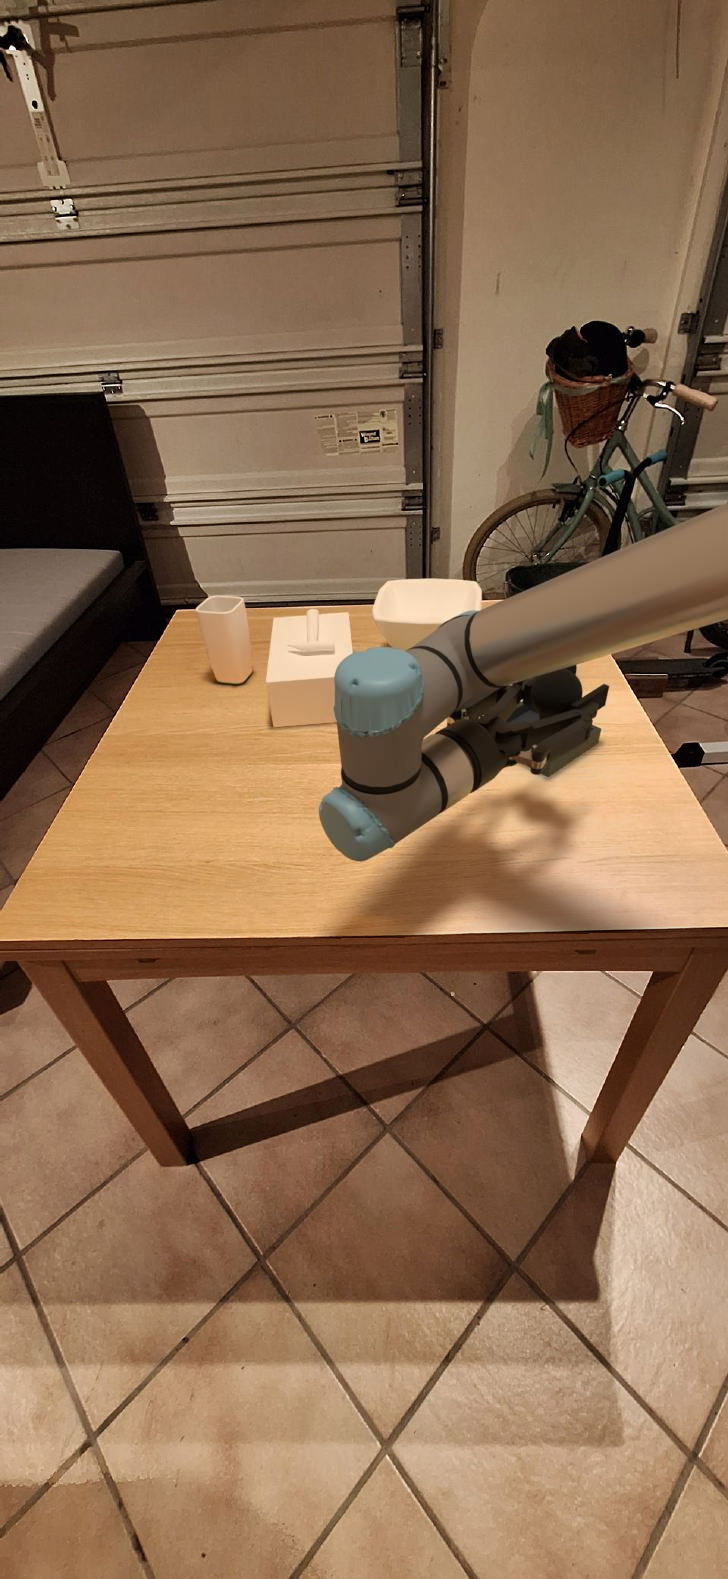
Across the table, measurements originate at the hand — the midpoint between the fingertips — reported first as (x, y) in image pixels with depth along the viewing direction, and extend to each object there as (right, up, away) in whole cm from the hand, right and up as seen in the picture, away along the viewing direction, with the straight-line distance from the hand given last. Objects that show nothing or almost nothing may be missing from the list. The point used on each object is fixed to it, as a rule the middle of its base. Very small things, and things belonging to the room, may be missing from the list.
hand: (580, 685), depth 78 cm
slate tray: (+1, -5, +22) cm, 23 cm away
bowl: (-15, +10, +42) cm, 46 cm away
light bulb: (-4, -7, +1) cm, 8 cm away
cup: (-52, +8, +44) cm, 68 cm away
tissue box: (-36, +6, +39) cm, 53 cm away
